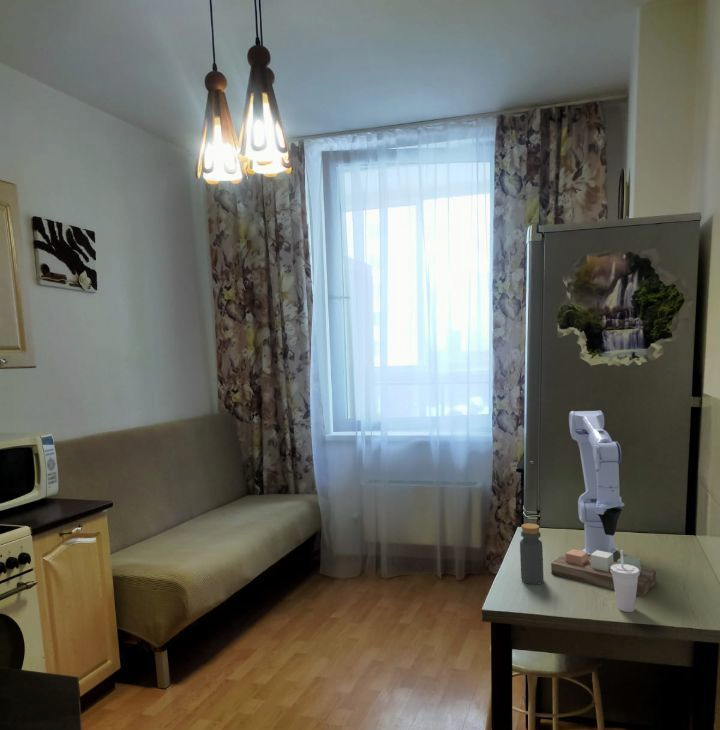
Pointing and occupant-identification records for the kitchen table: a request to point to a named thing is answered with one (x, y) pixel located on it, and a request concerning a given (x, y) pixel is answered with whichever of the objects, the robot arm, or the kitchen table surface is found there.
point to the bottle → (531, 554)
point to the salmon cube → (577, 557)
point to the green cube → (631, 562)
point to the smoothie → (625, 585)
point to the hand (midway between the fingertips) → (609, 534)
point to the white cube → (602, 560)
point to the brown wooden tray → (600, 574)
